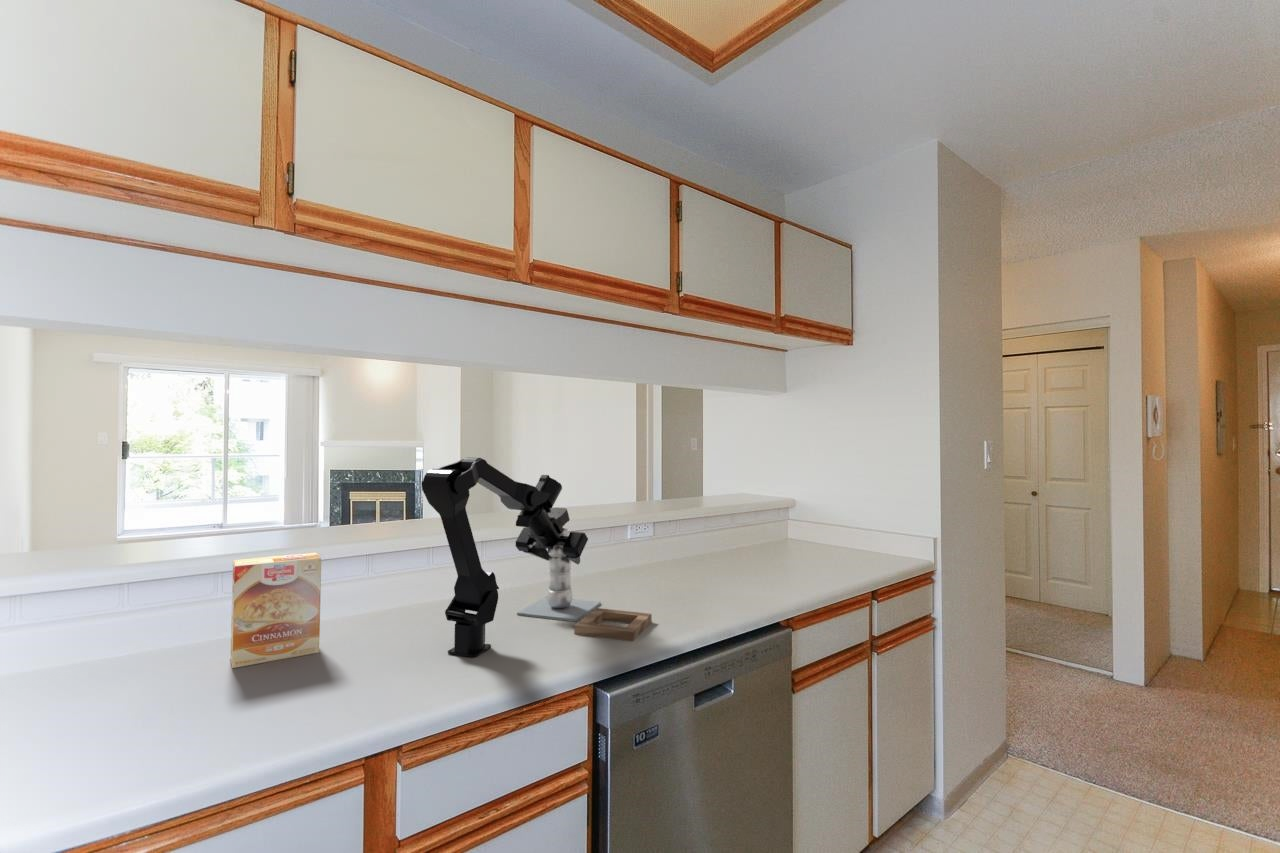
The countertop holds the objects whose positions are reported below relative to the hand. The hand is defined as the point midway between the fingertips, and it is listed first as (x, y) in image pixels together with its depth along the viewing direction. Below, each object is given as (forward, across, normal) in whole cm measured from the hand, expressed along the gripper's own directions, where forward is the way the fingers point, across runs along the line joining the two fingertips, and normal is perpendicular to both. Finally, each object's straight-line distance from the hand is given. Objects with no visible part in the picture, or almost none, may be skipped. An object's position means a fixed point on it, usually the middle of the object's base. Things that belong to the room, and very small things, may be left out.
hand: (563, 561), depth 156 cm
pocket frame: (+3, -19, +14) cm, 24 cm away
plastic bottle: (+7, 0, +9) cm, 12 cm away
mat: (+8, 0, +10) cm, 12 cm away
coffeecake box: (-30, +32, +48) cm, 65 cm away
